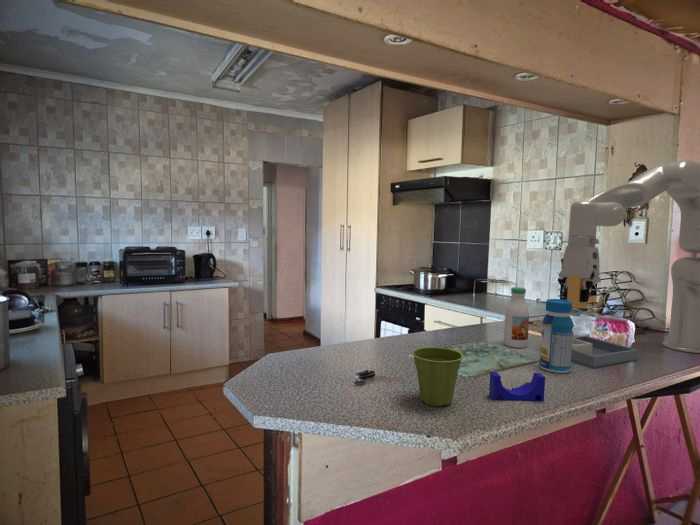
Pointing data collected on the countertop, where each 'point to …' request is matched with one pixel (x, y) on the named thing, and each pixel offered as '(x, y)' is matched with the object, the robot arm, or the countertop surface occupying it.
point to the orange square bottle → (575, 292)
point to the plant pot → (437, 373)
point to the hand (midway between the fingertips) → (577, 299)
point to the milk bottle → (516, 320)
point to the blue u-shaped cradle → (517, 389)
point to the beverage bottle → (557, 336)
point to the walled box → (600, 352)
